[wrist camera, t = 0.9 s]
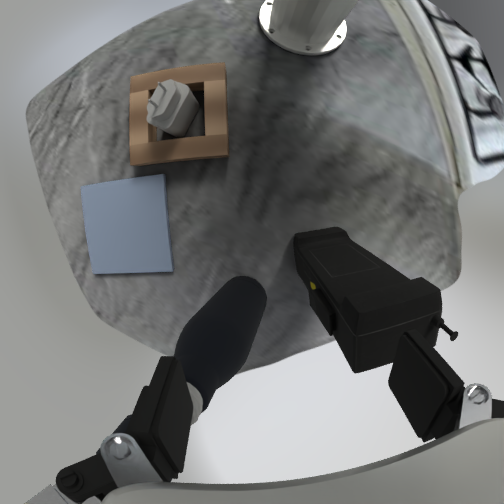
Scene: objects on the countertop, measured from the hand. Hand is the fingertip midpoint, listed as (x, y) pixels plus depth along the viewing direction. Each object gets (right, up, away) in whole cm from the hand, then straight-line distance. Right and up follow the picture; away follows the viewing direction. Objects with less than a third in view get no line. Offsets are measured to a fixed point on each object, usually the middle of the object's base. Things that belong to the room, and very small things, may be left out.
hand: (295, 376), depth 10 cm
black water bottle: (-3, -1, +28) cm, 28 cm away
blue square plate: (-19, +9, +25) cm, 33 cm away
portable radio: (+7, +5, +27) cm, 28 cm away
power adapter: (-11, +23, +22) cm, 33 cm away
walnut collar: (-11, +23, +21) cm, 33 cm away
